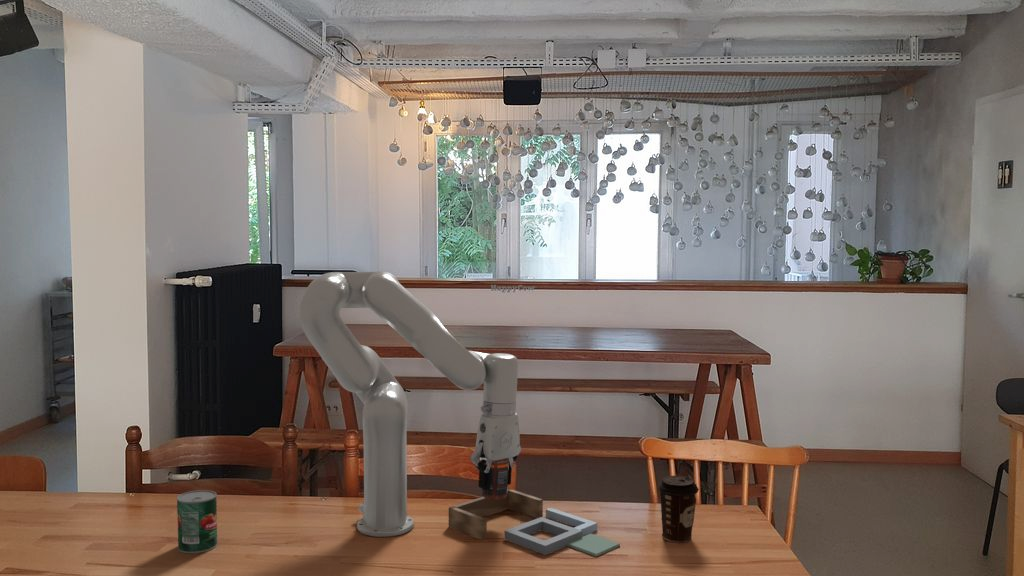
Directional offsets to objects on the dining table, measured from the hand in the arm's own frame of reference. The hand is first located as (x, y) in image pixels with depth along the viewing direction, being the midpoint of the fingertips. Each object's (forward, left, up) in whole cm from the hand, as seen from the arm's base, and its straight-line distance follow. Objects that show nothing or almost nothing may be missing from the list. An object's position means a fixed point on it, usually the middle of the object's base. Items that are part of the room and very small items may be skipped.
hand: (494, 485), depth 190 cm
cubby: (0, +1, -9) cm, 9 cm away
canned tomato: (-35, -54, -9) cm, 65 cm away
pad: (+24, +6, -9) cm, 27 cm away
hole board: (+14, +1, -9) cm, 17 cm away
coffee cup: (+34, +23, -9) cm, 42 cm away
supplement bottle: (0, 0, -3) cm, 3 cm away
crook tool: (+12, +10, -9) cm, 18 cm away
